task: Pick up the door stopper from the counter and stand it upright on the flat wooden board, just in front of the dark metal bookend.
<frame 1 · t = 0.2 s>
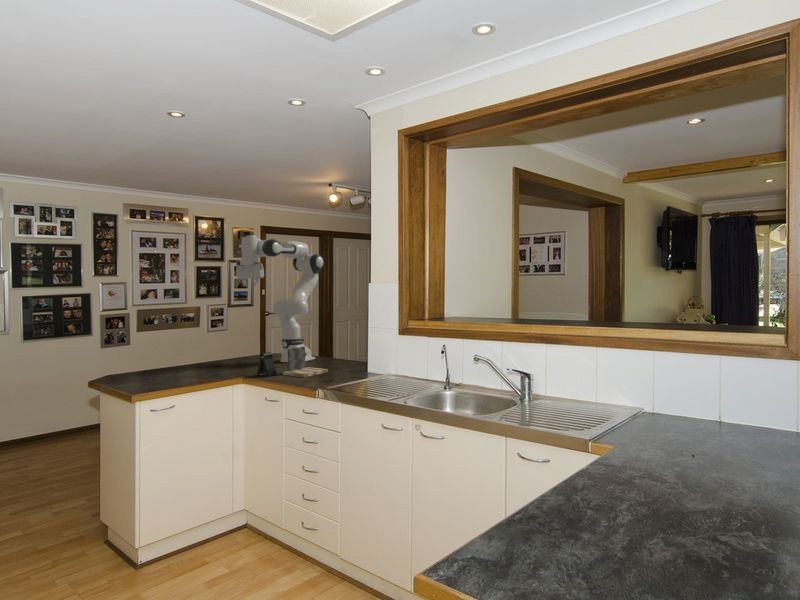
hand: (250, 286, 307), 48 cm above the worktop, fingers open, 8 cm apart
door stopper: (266, 375, 286), on the worktop
flat wooden board: (305, 373, 289), on the worktop
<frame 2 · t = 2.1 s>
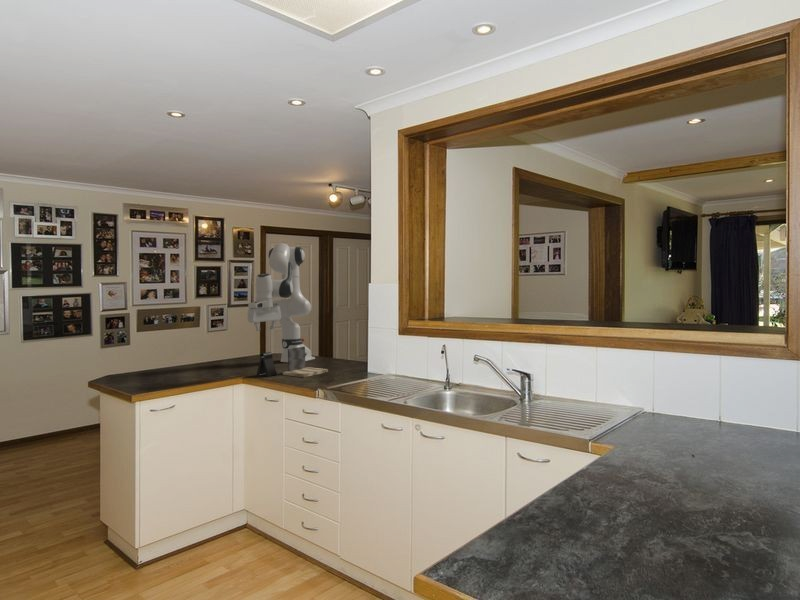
hand: (265, 329, 285), 24 cm above the worktop, fingers open, 8 cm apart
nothing on the worktop moved.
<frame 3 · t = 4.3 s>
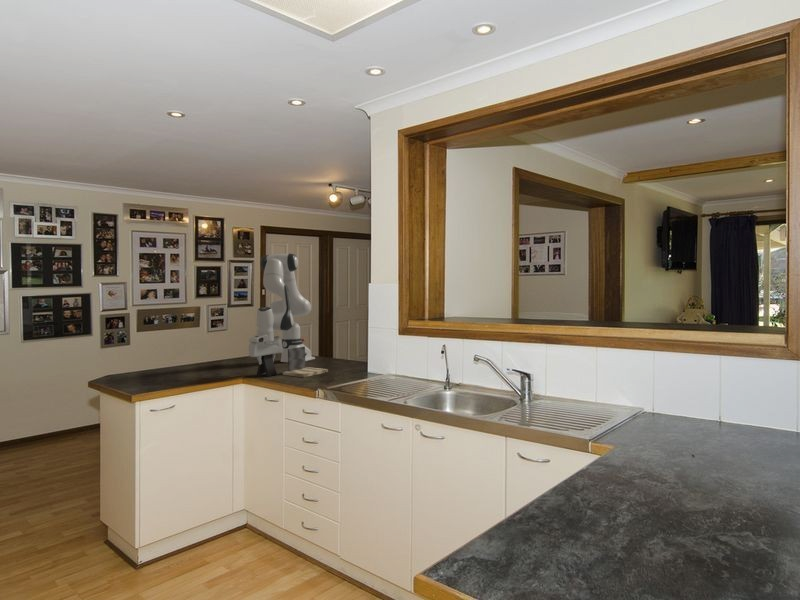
hand: (266, 363, 286), 6 cm above the worktop, fingers closed on door stopper, 6 cm apart
door stopper: (266, 375, 286), on the worktop, touching gripper
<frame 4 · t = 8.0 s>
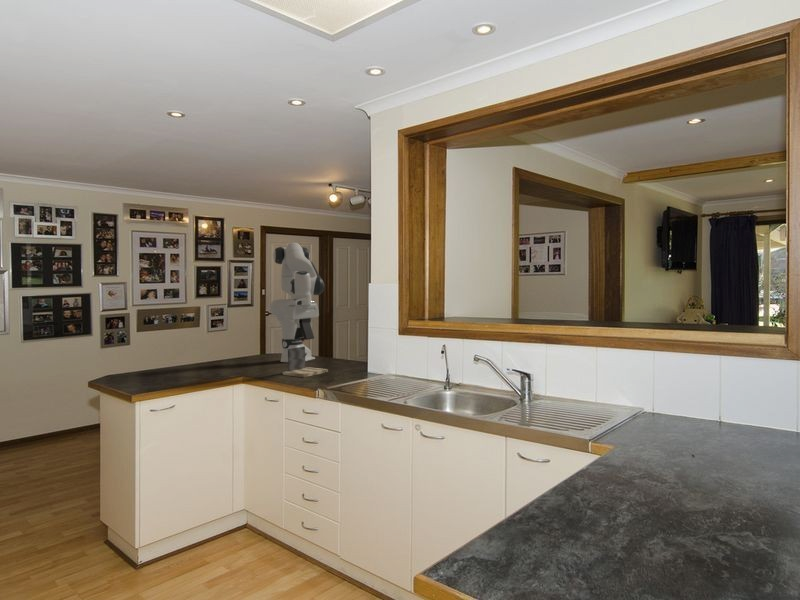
hand: (303, 327, 287), 25 cm above the worktop, fingers closed on door stopper, 6 cm apart
door stopper: (304, 339, 288), point 19 cm above the worktop, touching gripper
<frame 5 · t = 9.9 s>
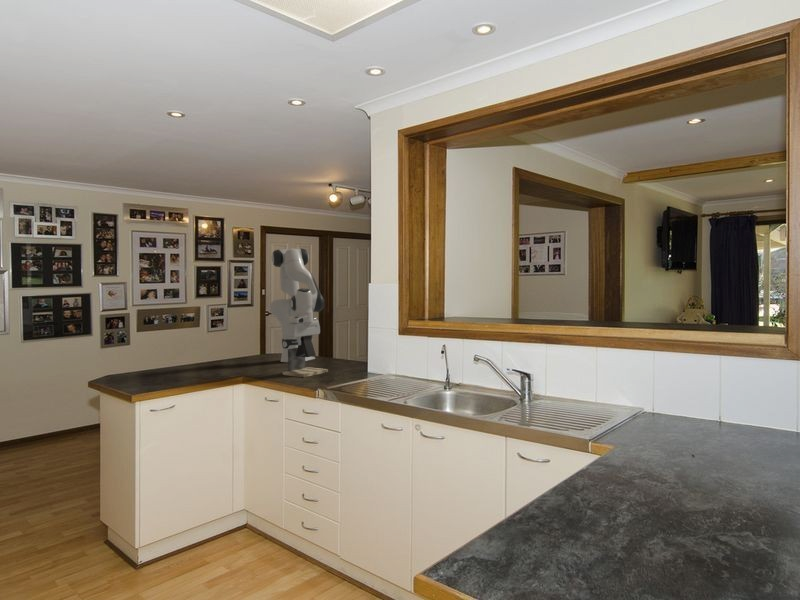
hand: (305, 344, 288), 16 cm above the worktop, fingers closed on door stopper, 6 cm apart
door stopper: (305, 356, 288), point 9 cm above the worktop, touching gripper
when the fingers open (9 cm above the worktop, at t = 11.7 s): door stopper drops 1 cm, resting on flat wooden board.
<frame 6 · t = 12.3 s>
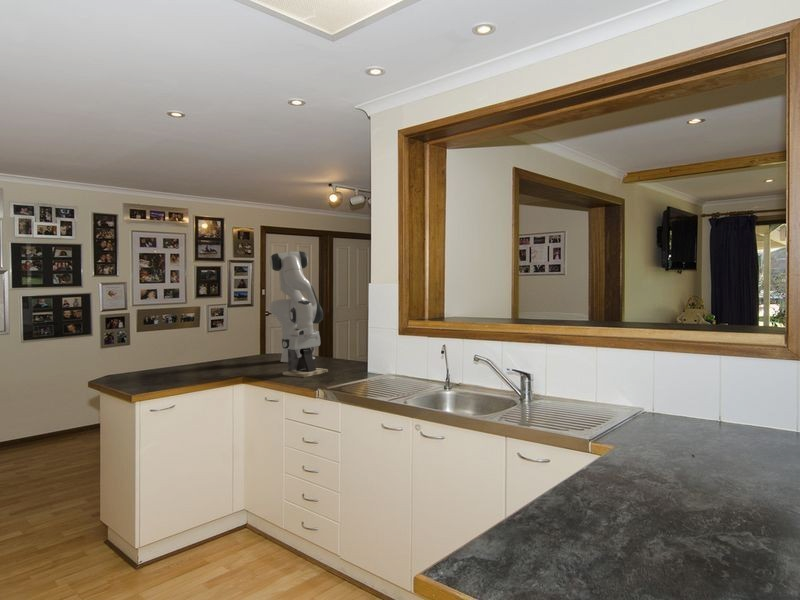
hand: (305, 356, 288), 9 cm above the worktop, fingers open, 8 cm apart
door stopper: (306, 370, 288), point 1 cm above the worktop, touching flat wooden board
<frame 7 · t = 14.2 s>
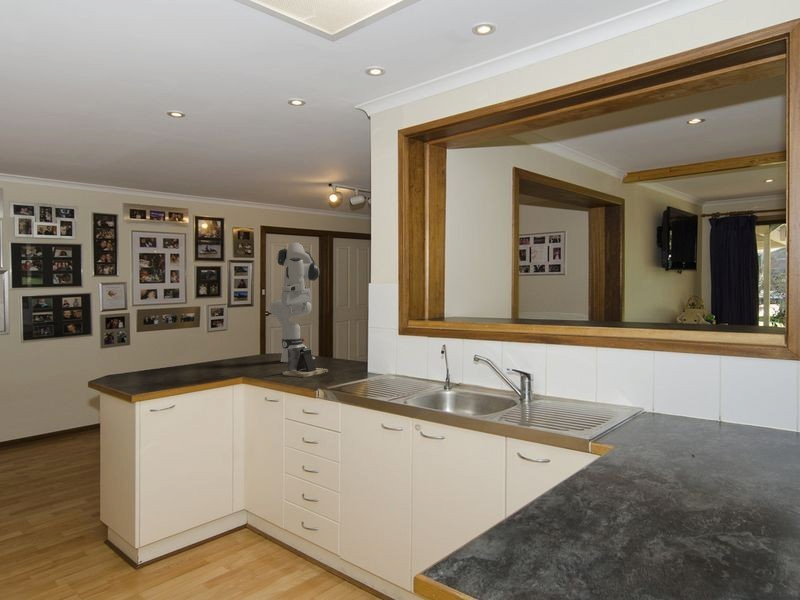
hand: (297, 311, 299), 33 cm above the worktop, fingers open, 8 cm apart
nothing on the worktop moved.
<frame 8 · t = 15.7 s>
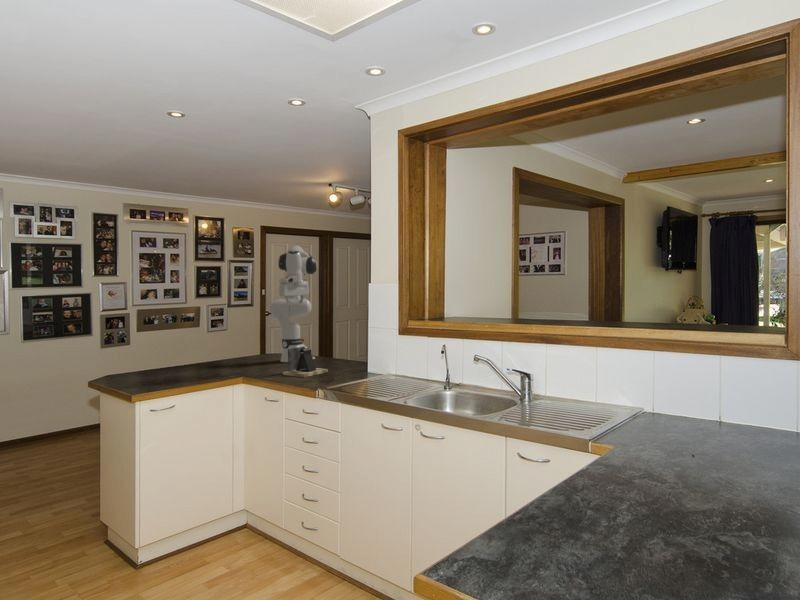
hand: (295, 303, 302), 37 cm above the worktop, fingers open, 8 cm apart
nothing on the worktop moved.
at the end: door stopper inside the target area on the flat wooden board (0.6 cm from its centre), point 1.3 cm above the flat wooden board's base; door stopper tilted 0°; the gripper is holding nothing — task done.
